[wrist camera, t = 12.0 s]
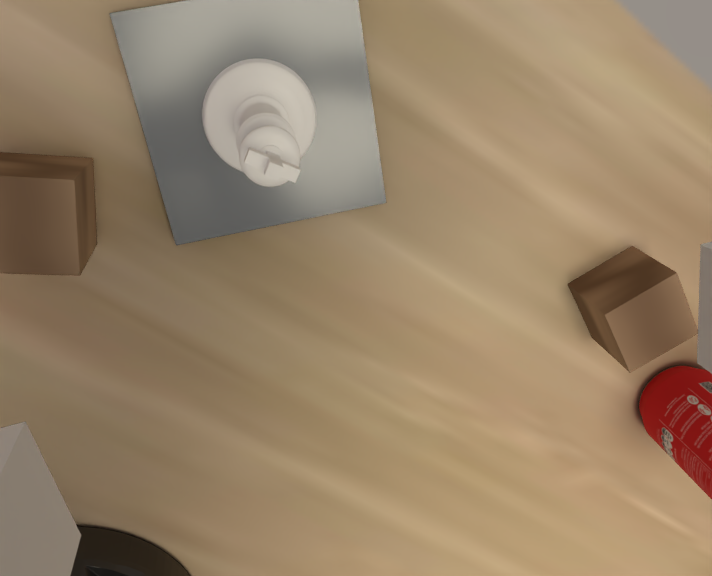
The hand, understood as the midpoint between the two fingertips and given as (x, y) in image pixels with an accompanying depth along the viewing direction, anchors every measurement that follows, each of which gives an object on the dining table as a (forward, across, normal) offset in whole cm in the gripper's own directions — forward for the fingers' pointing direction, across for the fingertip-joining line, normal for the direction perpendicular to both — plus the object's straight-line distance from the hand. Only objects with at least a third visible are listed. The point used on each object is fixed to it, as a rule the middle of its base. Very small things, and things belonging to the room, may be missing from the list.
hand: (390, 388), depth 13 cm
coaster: (+20, -1, +3) cm, 20 cm away
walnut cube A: (+20, +16, -11) cm, 28 cm away
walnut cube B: (+20, -11, +1) cm, 23 cm away
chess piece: (+19, -1, +3) cm, 19 cm away
